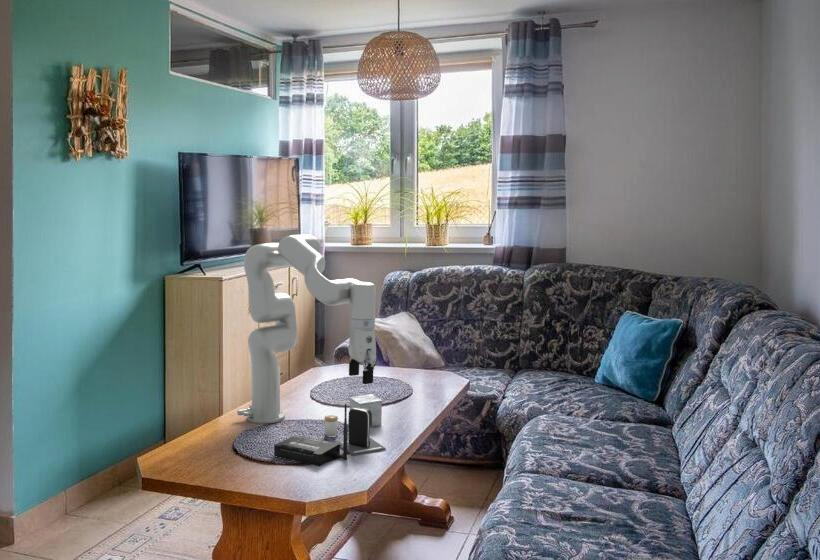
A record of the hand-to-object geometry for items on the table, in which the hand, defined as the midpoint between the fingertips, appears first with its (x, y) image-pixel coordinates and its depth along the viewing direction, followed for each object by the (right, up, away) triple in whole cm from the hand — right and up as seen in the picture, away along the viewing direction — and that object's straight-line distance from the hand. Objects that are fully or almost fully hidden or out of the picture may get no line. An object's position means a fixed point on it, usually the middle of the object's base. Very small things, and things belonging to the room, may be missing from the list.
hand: (360, 379), depth 216 cm
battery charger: (0, -21, +3) cm, 21 cm away
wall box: (0, -18, +25) cm, 31 cm away
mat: (0, -21, +2) cm, 21 cm away
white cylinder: (-10, -20, +12) cm, 25 cm away
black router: (-14, -22, -7) cm, 27 cm away
